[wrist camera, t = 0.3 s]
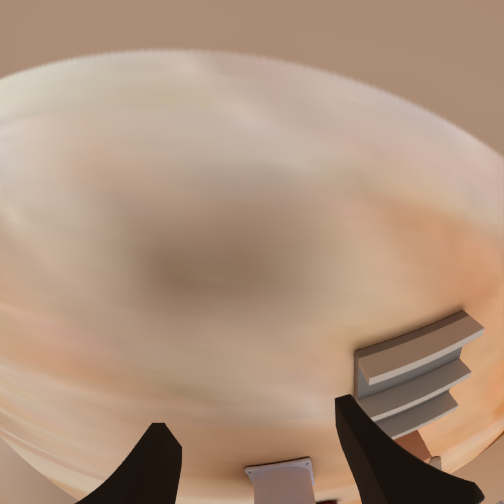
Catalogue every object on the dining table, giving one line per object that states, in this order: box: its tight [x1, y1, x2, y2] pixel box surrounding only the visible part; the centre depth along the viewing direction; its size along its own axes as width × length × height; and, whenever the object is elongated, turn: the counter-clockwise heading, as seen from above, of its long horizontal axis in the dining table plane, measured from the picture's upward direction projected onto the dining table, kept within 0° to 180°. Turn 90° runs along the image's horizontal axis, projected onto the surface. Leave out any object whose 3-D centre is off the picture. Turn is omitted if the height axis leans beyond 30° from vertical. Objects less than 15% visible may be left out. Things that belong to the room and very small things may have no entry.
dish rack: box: [354, 311, 484, 440], centre depth 20 cm, size 12×12×4 cm
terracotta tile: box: [394, 430, 432, 464], centre depth 22 cm, size 8×3×7 cm, turn 12°
